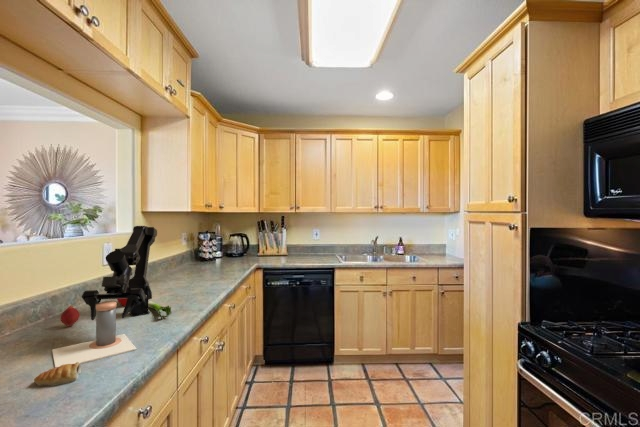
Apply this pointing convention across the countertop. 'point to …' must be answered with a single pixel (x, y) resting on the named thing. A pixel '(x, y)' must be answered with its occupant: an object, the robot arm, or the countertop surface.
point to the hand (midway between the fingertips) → (107, 318)
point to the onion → (70, 316)
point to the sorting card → (91, 351)
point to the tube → (106, 323)
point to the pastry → (59, 375)
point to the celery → (159, 308)
